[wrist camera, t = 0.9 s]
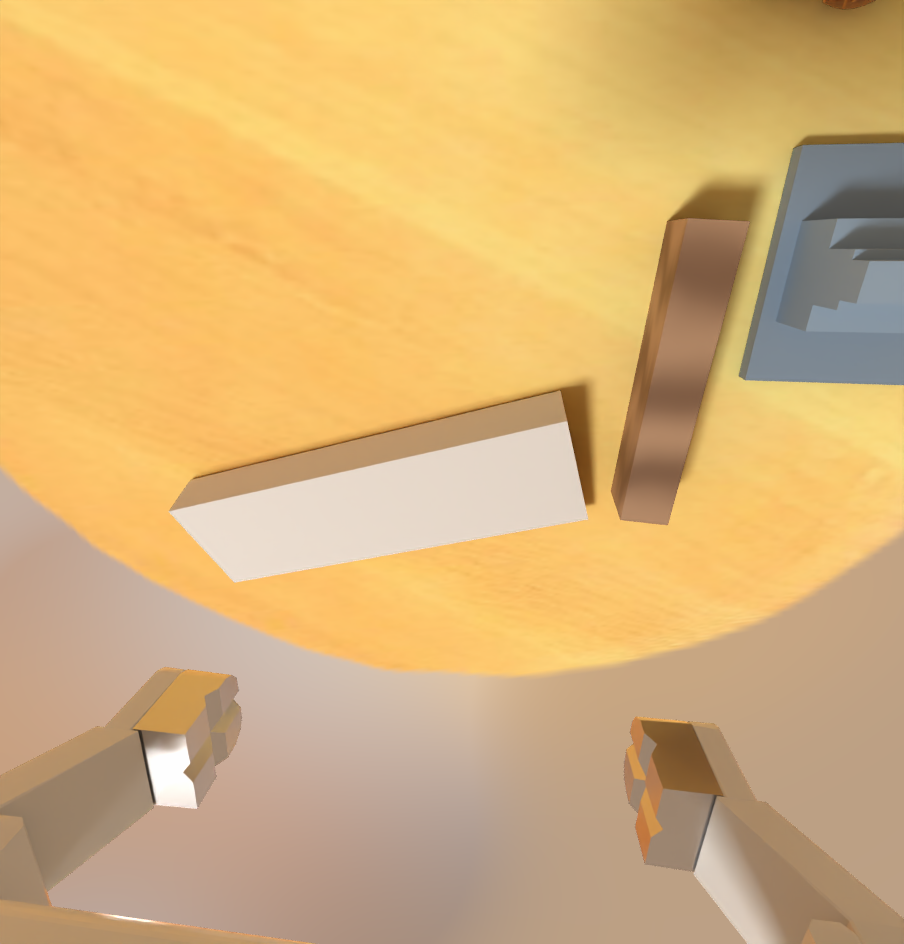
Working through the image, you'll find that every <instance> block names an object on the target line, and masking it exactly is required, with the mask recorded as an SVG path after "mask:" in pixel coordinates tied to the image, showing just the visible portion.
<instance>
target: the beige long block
mask: <svg viewBox="0 0 904 944" xmlns="http://www.w3.org/2000/svg"><path fill="white" fill-rule="evenodd" d="M169 512H170V514H171V515H172V516H173V517H174V518H175V519H176V520H177V521H178V522H179V523H180V524H181V525H182V527H183V528H184V529H185V530H186V531H187V532H188V533H189V534H190V535H191V536H192V537H193V538H194V539H195V541H196V542H197V543H198V544H199V545H200V546H201V547H202V548H203V549H204V550H205V551H206V552H207V553H208V555H209V556H210V557H211V558H212V559H213V560H214V561H215V562H216V563H217V564H218V565H219V566H220V567H221V569H222V570H223V571H224V572H225V573H226V574H227V575H228V576H229V577H230V578H231V579H232V580H233V582H240V581H245V580H251V579H257V578H262V577H268V576H273V575H279V574H285V573H290V572H296V571H301V570H307V569H313V568H318V567H324V566H329V565H335V564H341V563H346V562H352V561H357V560H363V559H369V558H374V557H380V556H385V555H391V554H397V553H402V552H408V551H413V550H419V549H425V548H430V547H436V546H441V545H447V544H453V543H458V542H464V541H469V540H475V539H481V538H486V537H492V536H497V535H503V534H509V533H514V532H520V531H525V530H531V529H537V528H542V527H548V526H553V525H559V524H565V523H570V522H576V521H581V520H587V519H588V516H587V512H586V507H585V502H584V498H583V493H582V488H581V483H580V479H579V474H578V469H577V465H576V460H575V455H574V451H573V446H572V441H571V437H570V432H569V427H568V423H567V418H566V413H565V409H564V404H563V399H562V395H561V390H560V391H556V392H552V393H548V394H544V395H539V396H535V397H531V398H527V399H523V400H518V401H514V402H510V403H506V404H502V405H497V406H493V407H489V408H485V409H481V410H477V411H473V412H469V413H465V414H460V415H456V416H452V417H448V418H444V419H440V420H436V421H432V422H428V423H423V424H419V425H415V426H411V427H407V428H403V429H399V430H394V431H390V432H386V433H382V434H378V435H373V436H369V437H365V438H361V439H357V440H353V441H349V442H344V443H340V444H336V445H332V446H328V447H324V448H320V449H316V450H312V451H308V452H304V453H299V454H295V455H291V456H287V457H283V458H279V459H274V460H270V461H266V462H262V463H258V464H253V465H249V466H245V467H241V468H237V469H233V470H229V471H225V472H221V473H217V474H213V475H208V476H204V477H200V478H196V479H192V480H191V481H190V482H189V483H188V484H187V486H186V487H185V488H184V490H183V491H182V493H181V494H180V496H179V497H178V499H177V500H176V501H175V503H174V504H173V506H172V507H171V509H170V510H169Z"/></svg>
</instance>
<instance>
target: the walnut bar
mask: <svg viewBox="0 0 904 944" xmlns="http://www.w3.org/2000/svg"><path fill="white" fill-rule="evenodd" d="M749 224H750V221H732V220H712V219H693V218H686V219H679V220H672V221H667V225H666V229H665V234H664V239H663V244H662V249H661V253H660V258H659V263H658V268H657V273H656V277H655V282H654V287H653V292H652V296H651V301H650V306H649V311H648V316H647V320H646V325H645V330H644V335H643V340H642V344H641V349H640V354H639V359H638V364H637V368H636V373H635V378H634V383H633V388H632V392H631V397H630V402H629V407H628V412H627V416H626V421H625V426H624V431H623V436H622V440H621V445H620V450H619V455H618V460H617V464H616V469H615V474H614V479H613V484H612V488H611V493H612V496H613V499H614V502H615V505H616V508H617V511H618V514H619V517H620V520H625V521H634V522H643V523H652V524H661V525H668V523H669V519H670V515H671V512H672V508H673V504H674V501H675V497H676V493H677V490H678V486H679V482H680V478H681V475H682V471H683V467H684V464H685V460H686V456H687V453H688V449H689V445H690V442H691V438H692V434H693V430H694V427H695V423H696V419H697V416H698V412H699V408H700V405H701V401H702V397H703V394H704V390H705V386H706V383H707V379H708V375H709V371H710V368H711V364H712V360H713V357H714V353H715V349H716V346H717V342H718V338H719V335H720V331H721V327H722V323H723V320H724V316H725V312H726V309H727V305H728V301H729V298H730V294H731V290H732V287H733V283H734V279H735V275H736V272H737V268H738V264H739V261H740V257H741V253H742V250H743V246H744V242H745V239H746V235H747V231H748V228H749Z"/></svg>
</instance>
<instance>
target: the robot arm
mask: <svg viewBox="0 0 904 944" xmlns="http://www.w3.org/2000/svg"><path fill="white" fill-rule="evenodd" d="M238 691H239V689H238V684H237V678H236V677H234V676H232V675H227V674H219V673H212V672H203V671H196V670H189V669H188V670H184V669H176V668H169V667H164V668H162V669H160V670H158V671H157V672H155V674H154V675H153V676H152V677H151V678H150V679H149V680H148V681H147V682H146V683H145V684H144V686H142V687H141V689H140V690H139V691H138V692H137V693H136V694H135V695H134V696H133V697H132V698H131V699H130V700H129V701H128V702H127V703H126V705H125V706H124V707H123V708H122V709H121V710H120V711H119V712H118V713H117V714H116V715H115V716H114V717H113V718H112V719H111V721H110V722H109V723H108V724H107V725H106V726H105V727H99V726H97V727H95V728H93V729H91V730H89V731H87V732H85V733H83V734H81V735H79V736H77V737H75V738H73V739H71V740H69V741H67V742H65V743H63V744H61V745H59V746H57V747H55V748H53V749H52V750H50V751H48V752H45V753H44V754H42V755H39V756H38V757H36V758H34V759H32V760H30V761H28V762H26V763H24V764H22V765H20V766H18V767H16V768H14V769H12V770H10V771H8V772H6V773H4V774H2V775H0V944H314V943H307V942H300V941H293V940H286V939H279V938H272V937H265V936H257V935H250V934H244V933H237V932H230V931H223V930H216V929H208V928H201V927H194V926H187V925H180V924H173V923H166V922H159V921H152V920H145V919H138V918H130V917H124V916H116V915H109V914H102V913H96V912H88V911H81V910H74V909H67V908H60V907H53V906H52V905H51V902H50V899H49V896H48V893H47V892H48V891H49V890H50V889H52V888H53V887H54V886H55V885H57V884H58V883H59V882H60V881H62V880H63V879H64V878H66V877H67V876H68V875H69V874H71V873H72V872H73V871H74V870H75V869H77V868H78V867H79V866H81V865H82V864H83V863H84V862H86V861H87V860H88V859H89V858H91V857H92V856H93V855H94V854H96V853H97V852H98V851H100V850H101V849H102V848H103V847H105V846H106V845H107V844H108V843H110V842H111V841H112V840H114V839H115V838H116V837H117V836H119V835H120V834H121V833H122V832H123V831H125V830H126V829H127V828H129V827H130V826H131V825H132V824H134V823H135V822H136V821H138V820H139V819H140V818H141V817H143V816H144V815H145V814H146V813H148V812H149V811H150V810H152V809H153V808H154V805H161V806H172V807H184V808H195V809H198V807H199V805H200V804H201V802H202V800H203V799H204V797H205V795H206V794H207V792H208V790H209V789H210V787H211V785H212V784H213V782H214V780H215V779H216V771H215V766H216V765H217V764H219V763H221V762H222V761H223V760H225V759H226V758H228V757H229V755H230V753H231V751H232V750H233V748H234V746H235V745H236V742H237V739H238V736H239V732H240V730H241V721H242V720H241V719H242V715H241V707H240V706H239V705H238V704H237V703H236V702H235V700H234V697H235V695H236V694H237V692H238ZM630 734H631V737H632V741H633V745H631V746H630V747H629V748H628V749H626V755H625V761H624V781H625V787H626V793H627V797H628V801H629V804H630V805H631V806H632V807H633V808H634V810H635V811H636V812H637V813H638V815H637V820H636V824H635V829H636V833H637V837H638V840H639V844H640V848H641V852H642V856H643V860H644V863H645V864H646V865H654V866H660V867H666V868H673V869H679V870H685V871H692V872H694V875H695V876H696V878H697V879H698V881H699V882H700V883H701V884H702V886H703V887H704V888H705V890H706V891H707V892H708V893H709V895H710V896H711V897H712V899H713V900H714V901H715V902H716V904H717V905H718V906H719V908H720V909H721V910H722V911H723V913H724V914H725V915H726V917H727V918H728V919H729V920H730V922H731V923H732V924H733V925H734V927H735V928H736V929H737V931H738V932H739V933H740V935H741V936H742V937H743V938H744V940H745V941H746V942H747V944H904V919H903V918H902V917H901V916H900V915H899V914H898V913H897V912H895V911H894V910H893V909H892V908H891V907H889V906H888V905H887V904H886V903H885V902H884V901H882V900H881V899H880V898H879V897H878V896H876V895H875V894H874V893H873V892H872V891H871V890H869V889H868V888H867V887H866V886H865V885H863V884H862V883H861V882H860V881H859V880H858V879H856V878H855V877H854V876H853V875H852V874H850V873H849V872H848V871H847V870H846V869H845V868H843V867H842V866H841V865H840V864H838V863H837V862H836V861H835V860H834V859H833V858H831V857H830V856H829V855H828V854H827V853H826V852H824V851H823V850H822V849H821V848H820V847H819V846H817V845H816V844H815V843H814V842H812V841H811V840H810V839H809V838H808V837H806V836H805V835H804V834H803V833H802V832H801V831H799V830H798V829H797V828H796V827H795V826H794V825H792V824H791V823H790V822H789V821H788V820H787V819H785V818H784V817H783V816H782V815H781V814H779V813H778V812H777V811H776V810H775V809H773V808H772V807H771V806H770V805H769V804H768V803H766V802H762V801H757V799H756V798H755V796H754V794H753V792H752V790H751V788H750V786H749V784H748V783H747V780H746V778H745V776H744V774H743V773H742V771H741V769H740V767H739V765H738V763H737V761H736V759H735V757H734V756H733V754H732V752H731V750H730V748H729V746H728V744H727V742H726V740H725V738H724V736H723V734H722V732H721V731H720V728H719V727H717V726H716V725H715V724H713V723H701V722H690V721H688V722H685V721H677V720H666V719H656V718H645V717H635V718H634V720H633V721H632V725H631V729H630Z"/></svg>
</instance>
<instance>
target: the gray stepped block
mask: <svg viewBox="0 0 904 944" xmlns="http://www.w3.org/2000/svg"><path fill="white" fill-rule="evenodd" d="M739 377H741V378H743V379H744V380H756V381H788V382H820V383H852V384H884V385H904V143H873V144H829V145H802V146H799V147H796V148H793V152H792V156H791V160H790V164H789V169H788V173H787V177H786V181H785V185H784V189H783V194H782V198H781V202H780V206H779V210H778V214H777V219H776V223H775V227H774V231H773V235H772V239H771V244H770V248H769V252H768V256H767V260H766V264H765V269H764V273H763V277H762V281H761V285H760V289H759V294H758V298H757V302H756V306H755V310H754V314H753V319H752V323H751V327H750V331H749V335H748V339H747V344H746V348H745V352H744V356H743V360H742V364H741V369H740V373H739Z"/></svg>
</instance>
